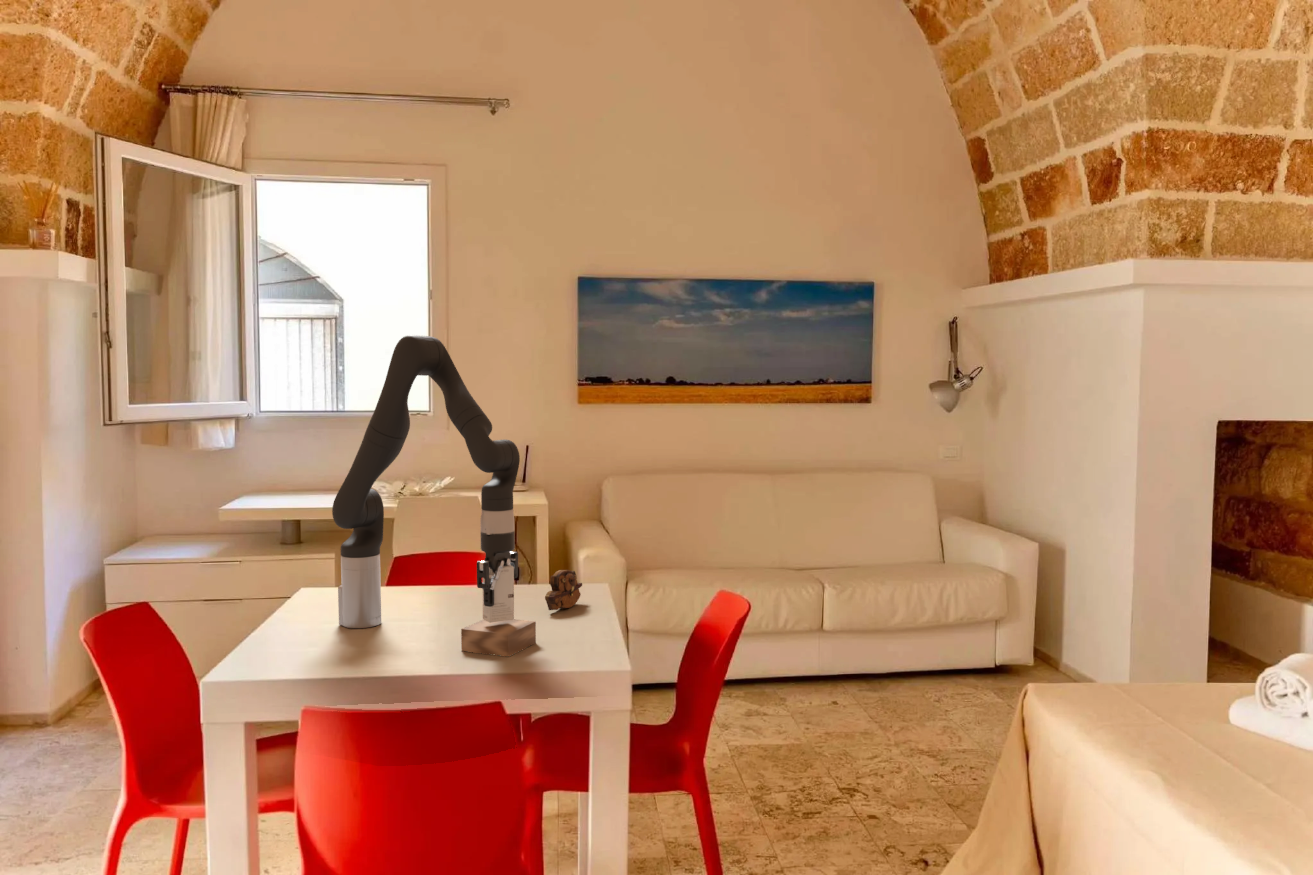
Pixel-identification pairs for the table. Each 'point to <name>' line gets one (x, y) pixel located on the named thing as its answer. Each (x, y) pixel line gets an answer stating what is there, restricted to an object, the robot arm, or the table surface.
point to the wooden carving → (563, 590)
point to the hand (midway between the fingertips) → (498, 602)
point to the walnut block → (498, 637)
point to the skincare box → (501, 597)
